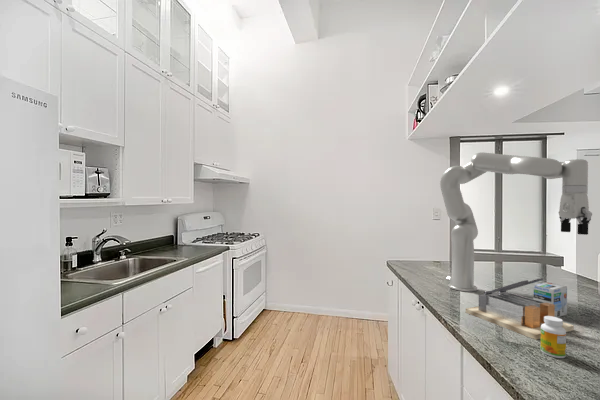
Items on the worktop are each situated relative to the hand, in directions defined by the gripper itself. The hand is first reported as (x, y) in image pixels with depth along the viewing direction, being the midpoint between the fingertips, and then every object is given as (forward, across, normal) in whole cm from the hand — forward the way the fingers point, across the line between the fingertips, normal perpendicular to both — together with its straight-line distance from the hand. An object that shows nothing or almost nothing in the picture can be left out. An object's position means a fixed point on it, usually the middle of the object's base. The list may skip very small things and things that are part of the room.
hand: (573, 233), depth 120 cm
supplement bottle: (+30, +44, -31) cm, 62 cm away
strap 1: (+19, +22, -33) cm, 44 cm away
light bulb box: (+31, +9, -13) cm, 34 cm away
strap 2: (+19, +17, -27) cm, 37 cm away
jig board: (+30, +20, -30) cm, 47 cm away
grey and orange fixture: (+29, +20, -30) cm, 46 cm away
